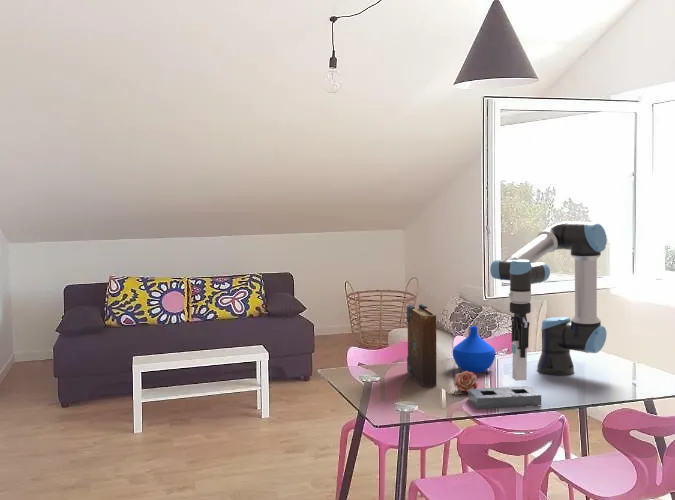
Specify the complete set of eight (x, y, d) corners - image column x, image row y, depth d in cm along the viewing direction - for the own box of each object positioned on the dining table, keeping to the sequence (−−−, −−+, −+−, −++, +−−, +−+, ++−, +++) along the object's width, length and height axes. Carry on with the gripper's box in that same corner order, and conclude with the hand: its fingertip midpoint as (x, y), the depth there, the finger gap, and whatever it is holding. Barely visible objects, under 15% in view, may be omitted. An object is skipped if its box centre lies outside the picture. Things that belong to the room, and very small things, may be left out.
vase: (448, 373, 321) (448, 330, 319) (457, 363, 338) (457, 321, 336) (491, 377, 314) (491, 332, 312) (498, 366, 331) (498, 324, 329)
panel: (529, 397, 285) (529, 386, 285) (541, 407, 273) (541, 395, 273) (468, 400, 283) (468, 389, 283) (477, 410, 271) (477, 398, 271)
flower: (451, 384, 299) (451, 371, 294) (473, 378, 300) (473, 366, 295) (459, 403, 292) (459, 390, 287) (482, 397, 293) (481, 384, 287)
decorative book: (407, 372, 324) (406, 304, 320) (423, 371, 325) (422, 303, 322) (422, 388, 301) (421, 314, 297) (439, 386, 302) (438, 313, 299)
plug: (522, 377, 280) (523, 340, 278) (526, 380, 276) (526, 342, 274) (510, 377, 279) (511, 340, 278) (514, 380, 275) (514, 343, 274)
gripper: (503, 298, 283) (502, 359, 285) (518, 306, 266) (517, 370, 268) (522, 297, 284) (521, 358, 286) (538, 305, 267) (537, 369, 269)
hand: (519, 364), depth 277 cm, fingers closed on plug, 4 cm apart
